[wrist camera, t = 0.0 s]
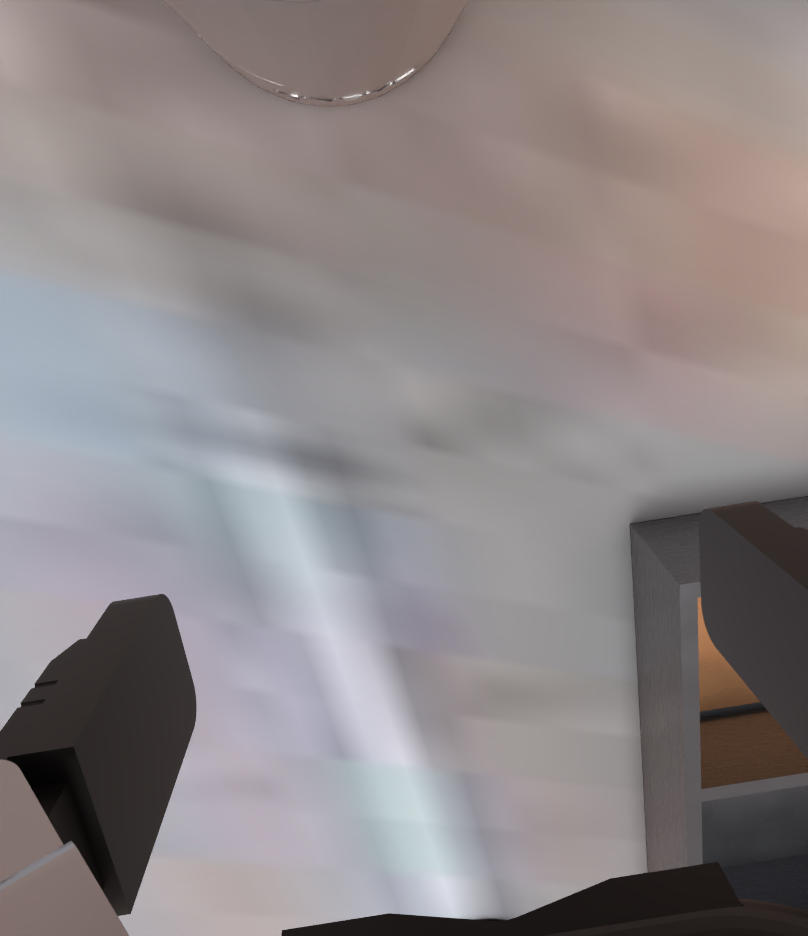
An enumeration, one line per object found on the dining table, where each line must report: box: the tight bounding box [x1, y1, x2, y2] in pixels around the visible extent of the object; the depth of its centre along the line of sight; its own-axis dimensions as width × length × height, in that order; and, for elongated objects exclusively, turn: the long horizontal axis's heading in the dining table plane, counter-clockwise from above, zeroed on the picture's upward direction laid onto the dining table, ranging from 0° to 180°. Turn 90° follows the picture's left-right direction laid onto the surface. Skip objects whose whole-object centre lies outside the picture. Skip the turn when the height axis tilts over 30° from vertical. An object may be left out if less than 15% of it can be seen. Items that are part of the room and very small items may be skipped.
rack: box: [630, 496, 808, 911], centre depth 33 cm, size 27×12×5 cm, turn 8°
